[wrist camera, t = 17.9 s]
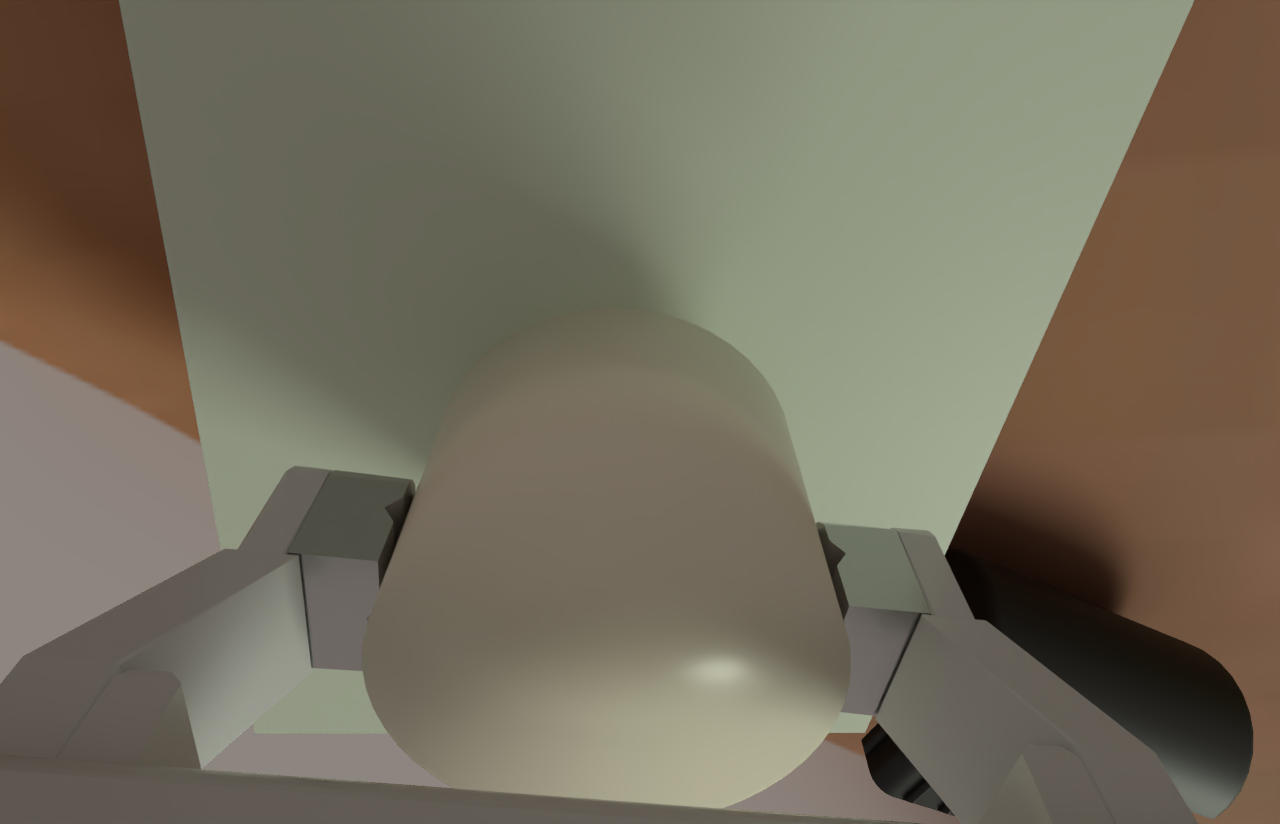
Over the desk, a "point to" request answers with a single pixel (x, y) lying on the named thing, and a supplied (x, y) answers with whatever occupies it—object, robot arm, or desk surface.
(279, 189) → the lid
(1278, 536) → the desk surface
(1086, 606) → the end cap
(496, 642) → the cream domed capsule
